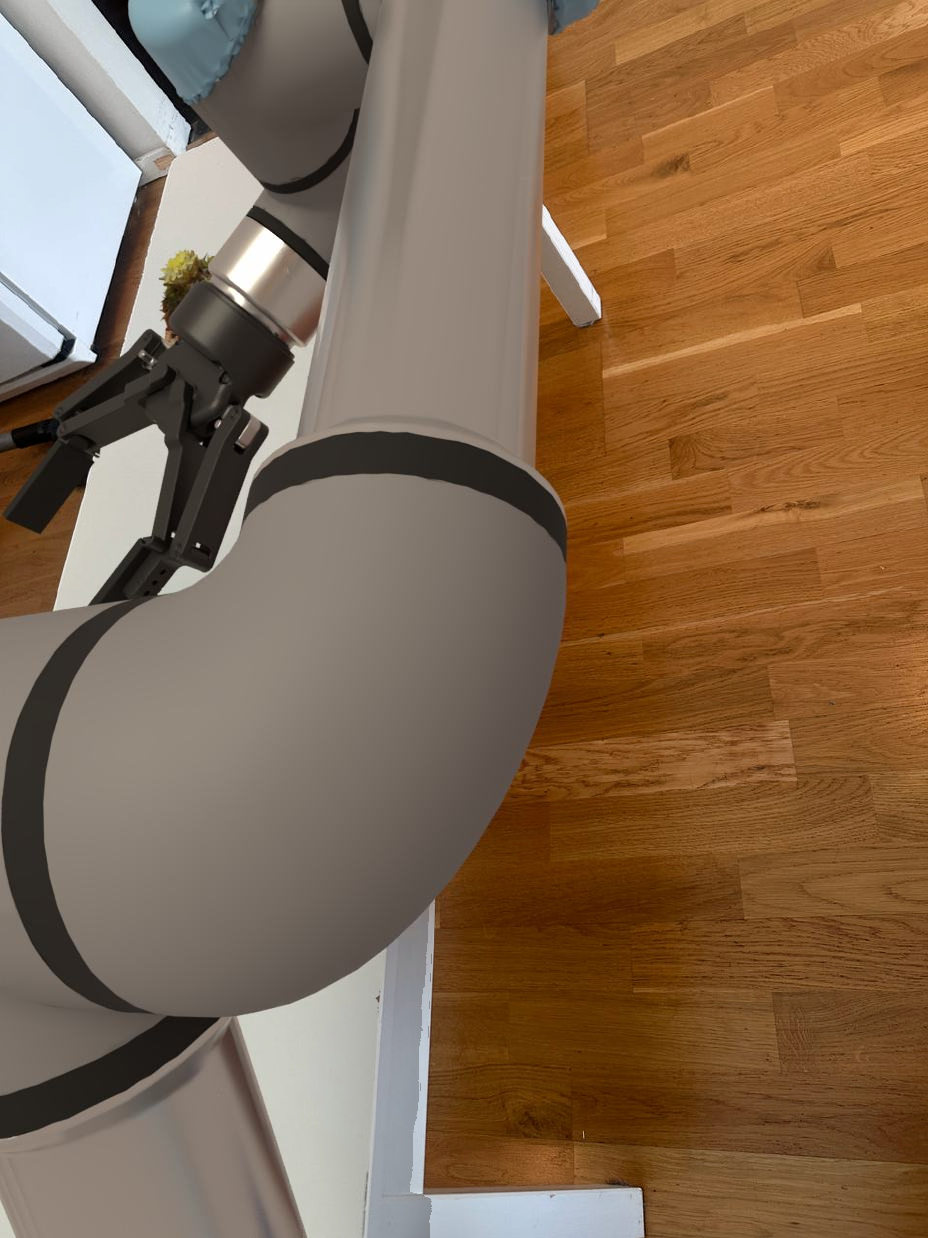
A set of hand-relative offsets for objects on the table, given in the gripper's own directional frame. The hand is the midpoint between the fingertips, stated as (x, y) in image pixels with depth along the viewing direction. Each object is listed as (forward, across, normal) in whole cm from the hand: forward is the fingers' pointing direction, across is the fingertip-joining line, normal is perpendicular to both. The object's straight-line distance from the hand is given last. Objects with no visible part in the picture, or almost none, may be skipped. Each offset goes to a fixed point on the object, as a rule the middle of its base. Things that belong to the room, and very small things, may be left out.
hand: (55, 575), depth 55 cm
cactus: (-21, +46, -28) cm, 58 cm away
